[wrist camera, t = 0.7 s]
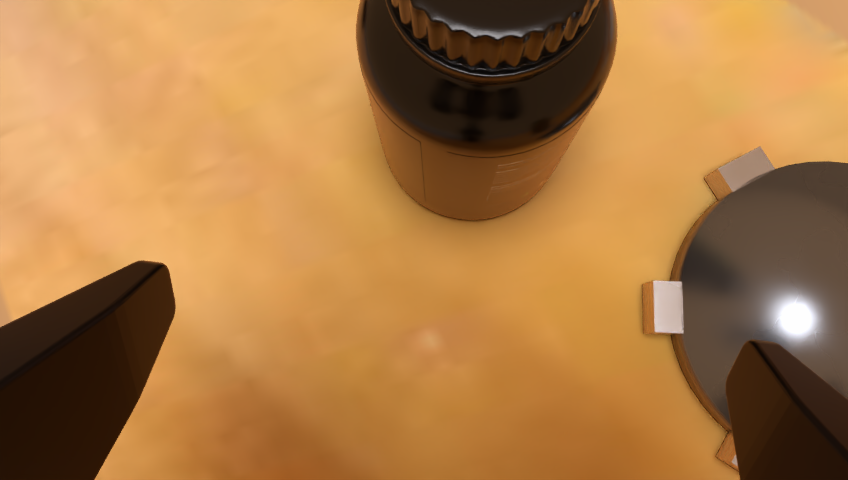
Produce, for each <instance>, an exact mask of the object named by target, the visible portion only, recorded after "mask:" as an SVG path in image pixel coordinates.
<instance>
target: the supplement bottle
mask: <svg viewBox="0 0 848 480" xmlns="http://www.w3.org/2000/svg"><path fill="white" fill-rule="evenodd" d="M356 41H357V50H358V56H359V62H360V66H361V71H362V75H363V78H364V82H365V86H366V89H367V93H368V96H369V100H370V104H371V107H372V111H373V114H374V118H375V122H376V125H377V129H378V132H379V136H380V140H381V143H382V147H383V150H384V153H385V156H386V159H387V162H388V164H389V167H390V169H391V171H392V173H393V174H394V176H395V178H396V180H397V181H398V182H399V184H400V185H401V187H402V188H403V189H404V190H405V191H406V192H407V193H408V194H409V195H410V196H411V197H412V198H413V199H414V200H416V201H417V202H418V203H420V204H421V205H423V206H424V207H426V208H428V209H429V210H432V211H434V212H436V213H438V214H441V215H444V216H447V217H451V218H456V219H464V220H481V219H488V218H493V217H497V216H500V215H503V214H506V213H508V212H510V211H513V210H515V209H516V208H518V207H520V206H521V205H523V204H524V203H526V202H527V201H528V200H530V199H531V198H532V197H533V196H534V195H535V194H536V193H537V192H538V191H539V190H540V189H541V188H542V187H543V185H544V184H545V183H546V182H547V180H548V179H549V177H550V176H551V174H552V173H553V171H554V169H555V168H556V166H557V165H558V163H559V161H560V160H561V158H562V156H563V155H564V153H565V151H566V150H567V148H568V146H569V145H570V143H571V141H572V140H573V138H574V136H575V135H576V133H577V131H578V130H579V128H580V126H581V125H582V123H583V121H584V120H585V118H586V116H587V115H588V113H589V111H590V110H591V108H592V106H593V105H594V103H595V101H596V100H597V98H598V96H599V95H600V93H601V91H602V88H603V86H604V84H605V82H606V80H607V78H608V75H609V72H610V70H611V67H612V64H613V60H614V56H615V51H616V43H617V19H616V12H615V6H614V2H613V0H360V4H359V9H358V14H357V23H356Z"/></svg>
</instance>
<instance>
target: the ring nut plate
mask: <svg viewBox="0 0 848 480" xmlns="http://www.w3.org/2000/svg"><path fill="white" fill-rule="evenodd" d="M704 179H705V180H706V182H707V184H708V185H709V187H710V188H711V190H712V191H713V193H714V195H715V196H716V198H717V199H718V201H716V202H715V203H714V204H713V205H712V206H710V207H709V208H708V209H707V210H706V211H705V212H704V213H703V214H702V216H701V217H700V218H699V219H698V220H697V221H696V222H695V224H694V225H693V227H692V228H691V230H690V231H689V233H688V234H687V236H686V237H685V239H684V241H683V243H682V245H681V247H680V250H679V252H678V254H677V257H676V260H675V263H674V266H673V269H672V273H671V279H670V281H651V282H648V283H645V284H643V285H642V287H643V332H644V334H668V335H671V338H672V342H673V347H674V350H675V353H676V356H677V359H678V361H679V364H680V367H681V369H682V371H683V373H684V375H685V377H686V379H687V381H688V383H689V385H690V387H691V389H692V390H693V391H694V393H695V394H696V396H697V397H698V399H699V400H700V402H701V403H702V405H703V406H704V407H705V408H706V409H707V411H708V412H709V413H710V414H711V415H712V416H713V418H714V419H715V420H716V421H717V422H718V423H719V424H720V425H721V426H722V427H724V428H725V429H726V430H727V431H728V432H729V433H728V435H727V436H726V438H725V440H724V442H723V444H722V446H721V448H720V450H719V452H718V453H717V455H716V457H717V458H719V459H720V460H722V461H723V462H725V463H727V464H728V465H730V466H731V467H733V468H735V469H736V470H738V464H737V458H736V452H735V446H734V440H733V434H732V428H731V422H730V416H729V410H728V404H727V398H726V391H725V386H726V380H727V376H728V374H729V372H730V370H731V368H732V366H733V364H734V362H735V360H736V358H737V356H738V354H739V352H740V350H741V348H742V346H743V345H744V343H745V342H746V341H748V340H752V339H754V340H762V341H770V342H775V343H778V344H779V345H781V346H782V347H783V348H785V349H786V350H787V351H788V352H790V353H791V354H792V355H793V356H795V357H796V358H797V359H798V360H800V361H801V362H802V363H803V364H805V365H806V366H807V367H808V368H810V369H811V370H812V371H813V372H815V373H816V374H817V375H818V376H820V377H821V378H822V379H823V380H825V381H826V382H827V383H828V384H830V385H831V386H832V387H833V388H835V389H836V390H837V391H838V392H839V393H841V394H842V395H843V396H844V397H846V398H847V399H848V163H839V162H806V163H800V164H793V165H788V166H784V167H781V168H778V169H775V168H774V167H773V165H772V164H771V162H770V161H769V159H768V158H767V156H766V155H765V153H764V152H763V150H762V149H761V147H758V148H756V149H754V150H752V151H750V152H748V153H746V154H745V155H743V156H741V157H739V158H737V159H735V160H733V161H731V162H729V163H727V164H726V165H724V166H722V167H720V168H718V169H716V170H715V171H714V172H712V173H711V174H709V175H708V176H706V177H705V178H704ZM738 471H739V470H738Z"/></svg>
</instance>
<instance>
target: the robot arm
mask: <svg viewBox="0 0 848 480" xmlns="http://www.w3.org/2000/svg"><path fill="white" fill-rule="evenodd" d="M174 314H175V298H174V293H173V288H172V283H171V278H170V273H169V270H168V268H167V266H166V265H165V264H163V263H159V262H151V261H137V262H135V263H132V264H130V265H128V266H126V267H124V268H122V269H120V270H118V271H116V272H114V273H112V274H110V275H108V276H106V277H103V278H101V279H99V280H97V281H95V282H93V283H91V284H89V285H87V286H85V287H83V288H81V289H79V290H77V291H74V292H72V293H70V294H68V295H66V296H64V297H62V298H60V299H58V300H56V301H54V302H52V303H50V304H48V305H45V306H43V307H41V308H39V309H37V310H35V311H33V312H31V313H29V314H27V315H25V316H23V317H21V318H19V319H16V320H14V321H12V322H10V323H8V324H6V325H4V326H2V327H0V480H94V479H95V477H96V476H97V474H98V472H99V470H100V468H101V467H102V465H103V463H104V461H105V460H106V458H107V456H108V454H109V452H110V451H111V449H112V447H113V445H114V444H115V442H116V440H117V438H118V436H119V435H120V433H121V431H122V429H123V427H124V426H125V424H126V422H127V420H128V419H129V417H130V415H131V413H132V411H133V409H134V408H135V406H136V404H137V402H138V400H139V398H140V396H141V394H142V391H143V389H144V387H145V385H146V382H147V380H148V378H149V375H150V373H151V370H152V368H153V366H154V363H155V361H156V358H157V356H158V354H159V351H160V349H161V347H162V344H163V342H164V339H165V337H166V335H167V332H168V330H169V327H170V325H171V323H172V320H173V318H174ZM725 391H726V398H727V404H728V410H729V416H730V422H731V428H732V434H733V440H734V446H735V452H736V458H737V464H738V470H739V475H740V480H848V399H847V398H846V397H844V396H843V395H842V394H841V393H839V392H838V391H837V390H836V389H835V388H833V387H832V386H831V385H830V384H828V383H827V382H826V381H825V380H823V379H822V378H821V377H820V376H818V375H817V374H816V373H815V372H813V371H812V370H811V369H810V368H808V367H807V366H806V365H805V364H803V363H802V362H801V361H800V360H798V359H797V358H796V357H795V356H793V355H792V354H791V353H790V352H788V351H787V350H786V349H785V348H783V347H782V346H781V345H779V344H778V343H775V342H770V341H762V340H754V339H752V340H748V341H746V342H745V343H744V345H743V346H742V348H741V350H740V352H739V354H738V356H737V358H736V360H735V362H734V364H733V366H732V368H731V370H730V372H729V374H728V376H727V380H726V386H725Z"/></svg>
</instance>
